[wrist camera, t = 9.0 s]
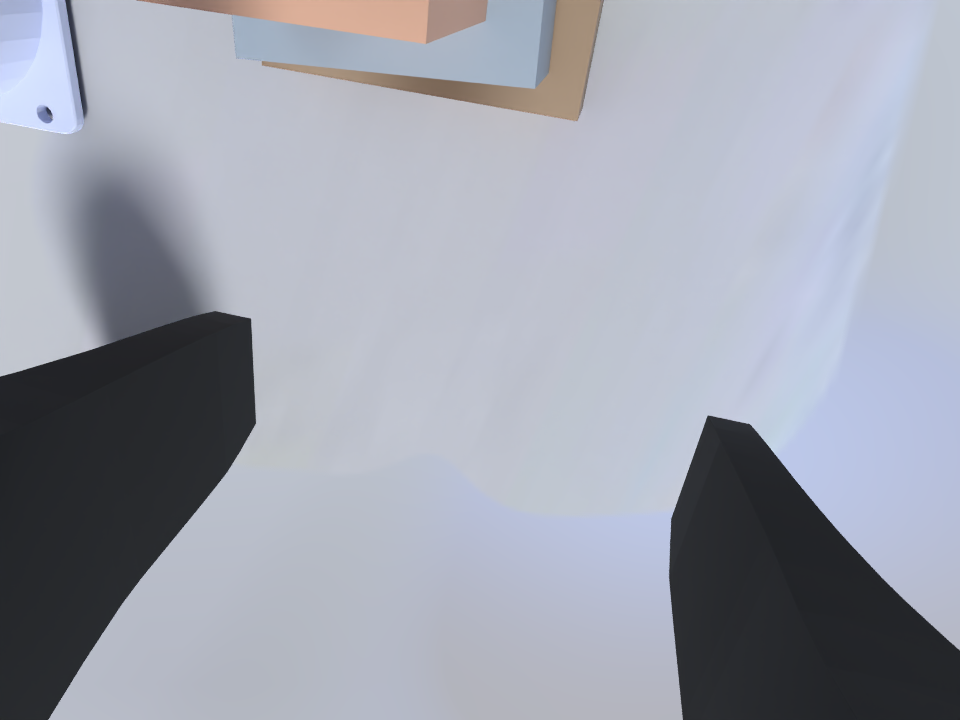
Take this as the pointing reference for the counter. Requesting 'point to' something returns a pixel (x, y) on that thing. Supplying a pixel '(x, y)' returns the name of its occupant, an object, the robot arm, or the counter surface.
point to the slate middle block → (418, 47)
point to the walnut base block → (549, 98)
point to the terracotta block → (357, 15)
